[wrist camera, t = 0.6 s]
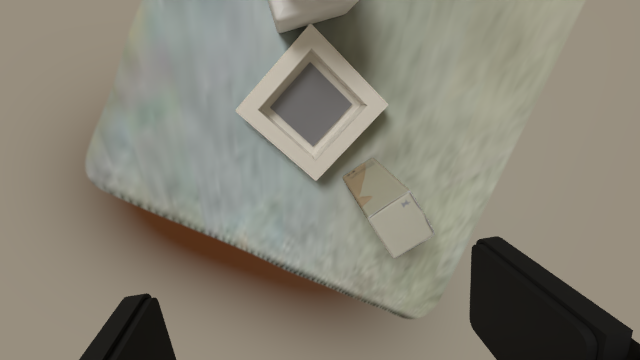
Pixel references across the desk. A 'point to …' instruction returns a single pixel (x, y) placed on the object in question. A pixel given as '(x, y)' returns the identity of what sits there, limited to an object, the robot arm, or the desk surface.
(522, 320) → the robot arm
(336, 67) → the shallow square tray
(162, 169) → the desk surface
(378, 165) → the box
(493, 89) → the desk surface
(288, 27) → the medicine bottle
